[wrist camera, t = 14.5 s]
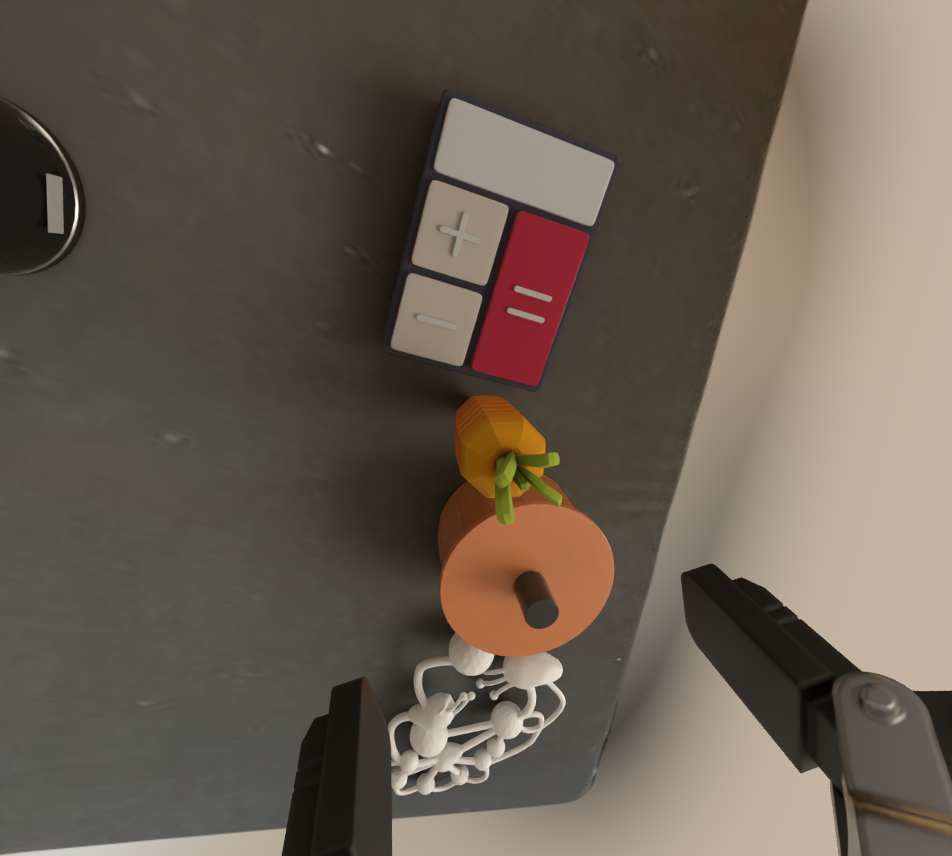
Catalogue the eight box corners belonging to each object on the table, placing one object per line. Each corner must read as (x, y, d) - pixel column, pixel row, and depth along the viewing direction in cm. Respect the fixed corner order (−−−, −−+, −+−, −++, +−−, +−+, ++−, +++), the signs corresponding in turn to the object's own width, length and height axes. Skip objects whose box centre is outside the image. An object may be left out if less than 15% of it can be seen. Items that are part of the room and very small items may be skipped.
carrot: (493, 362, 35) (560, 427, 21) (515, 422, 37) (591, 519, 23) (429, 388, 35) (454, 472, 21) (455, 447, 37) (493, 561, 23)
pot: (457, 602, 41) (469, 665, 35) (421, 489, 38) (427, 537, 31) (581, 563, 42) (615, 618, 36) (557, 449, 38) (590, 486, 32)
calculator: (379, 354, 30) (445, 79, 26) (381, 341, 34) (439, 100, 29) (542, 397, 33) (629, 154, 28) (527, 379, 37) (601, 164, 32)
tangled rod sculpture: (474, 787, 50) (483, 832, 46) (343, 764, 45) (341, 813, 41) (580, 648, 46) (600, 686, 42) (449, 605, 40) (458, 644, 37)
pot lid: (463, 666, 36) (472, 715, 32) (416, 527, 31) (420, 564, 28) (619, 615, 36) (645, 657, 33) (593, 474, 32) (620, 502, 28)
